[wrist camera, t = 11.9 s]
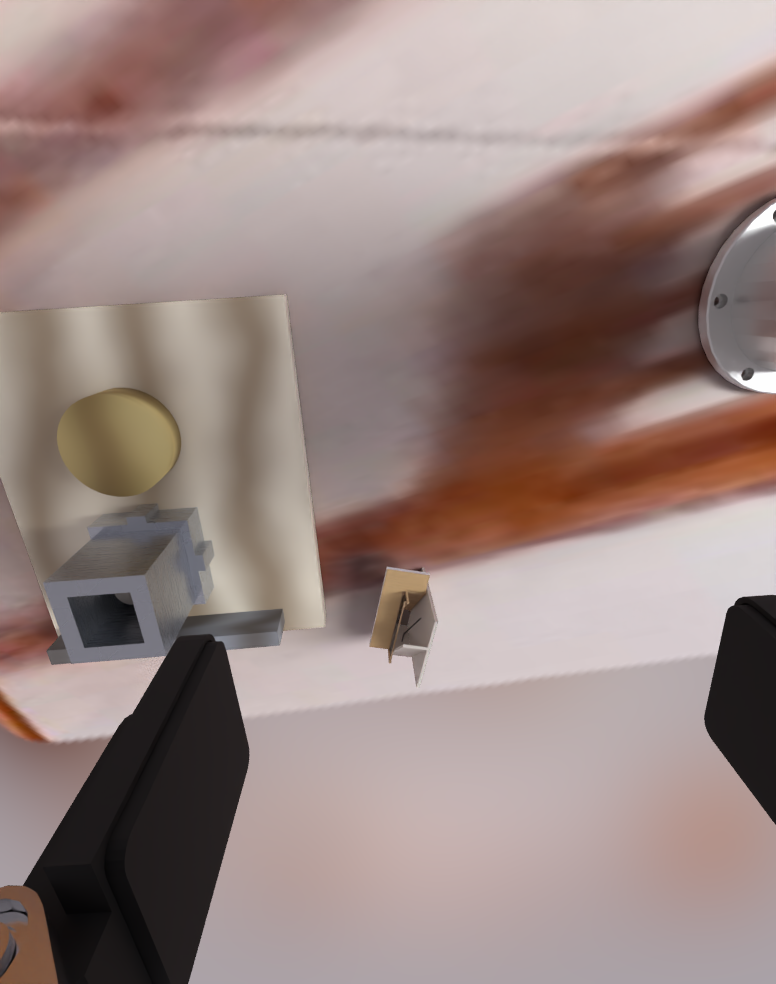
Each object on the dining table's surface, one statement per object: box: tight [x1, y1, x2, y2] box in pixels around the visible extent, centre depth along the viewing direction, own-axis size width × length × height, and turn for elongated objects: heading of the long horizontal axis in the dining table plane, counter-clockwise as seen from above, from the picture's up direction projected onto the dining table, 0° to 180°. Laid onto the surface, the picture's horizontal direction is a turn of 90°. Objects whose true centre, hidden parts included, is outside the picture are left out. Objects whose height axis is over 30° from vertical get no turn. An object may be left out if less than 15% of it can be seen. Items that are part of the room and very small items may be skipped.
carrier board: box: [0, 295, 326, 665], centre depth 32 cm, size 20×24×6 cm
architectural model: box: [369, 567, 438, 688], centre depth 36 cm, size 3×7×7 cm, turn 168°
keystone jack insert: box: [43, 503, 214, 664], centre depth 32 cm, size 7×7×8 cm
